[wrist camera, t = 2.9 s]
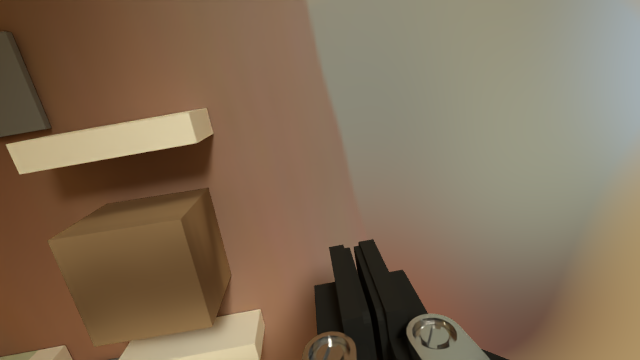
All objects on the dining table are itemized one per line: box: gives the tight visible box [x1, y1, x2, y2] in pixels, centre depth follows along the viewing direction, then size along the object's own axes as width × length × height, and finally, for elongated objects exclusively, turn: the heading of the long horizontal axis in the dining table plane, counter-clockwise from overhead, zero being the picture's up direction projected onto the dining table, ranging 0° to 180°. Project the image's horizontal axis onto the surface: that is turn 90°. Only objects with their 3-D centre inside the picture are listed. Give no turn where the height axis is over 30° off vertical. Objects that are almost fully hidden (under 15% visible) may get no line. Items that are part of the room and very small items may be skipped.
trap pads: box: [0, 31, 119, 360], centre depth 16 cm, size 21×4×1 cm, turn 9°
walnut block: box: [47, 188, 231, 347], centre depth 15 cm, size 5×5×4 cm
